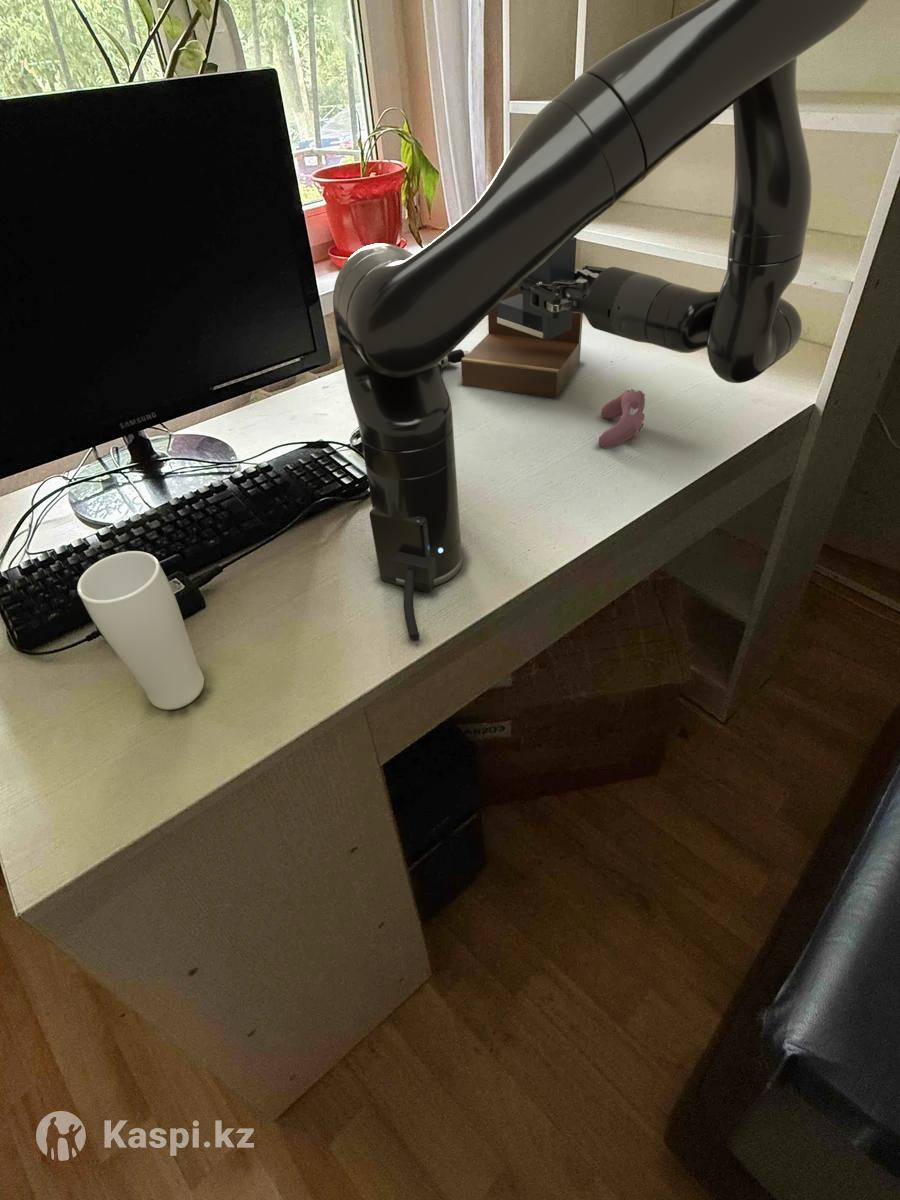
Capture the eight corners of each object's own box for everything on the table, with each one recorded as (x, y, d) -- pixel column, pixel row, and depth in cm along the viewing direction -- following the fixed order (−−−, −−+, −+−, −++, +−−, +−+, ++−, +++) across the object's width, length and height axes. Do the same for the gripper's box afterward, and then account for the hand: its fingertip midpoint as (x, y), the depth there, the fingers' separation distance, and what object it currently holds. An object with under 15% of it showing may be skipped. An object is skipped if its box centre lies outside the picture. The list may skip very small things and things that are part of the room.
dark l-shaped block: (572, 329, 98) (577, 237, 90) (547, 340, 95) (550, 247, 87) (521, 312, 104) (522, 225, 96) (497, 322, 101) (495, 234, 93)
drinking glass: (128, 700, 66) (58, 585, 56) (182, 656, 70) (126, 540, 60) (173, 729, 63) (108, 613, 53) (227, 681, 67) (176, 565, 57)
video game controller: (623, 460, 95) (653, 420, 90) (595, 446, 94) (623, 405, 90) (624, 425, 102) (652, 386, 97) (598, 412, 101) (624, 372, 97)
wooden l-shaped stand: (555, 398, 107) (559, 320, 99) (462, 385, 112) (457, 310, 104) (579, 364, 115) (584, 290, 107) (491, 353, 121) (489, 282, 113)
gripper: (672, 259, 86) (569, 236, 96) (598, 290, 79) (496, 263, 89) (663, 319, 91) (567, 292, 101) (593, 353, 85) (497, 321, 94)
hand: (534, 278), depth 95 cm, fingers closed on dark l-shaped block, 5 cm apart
